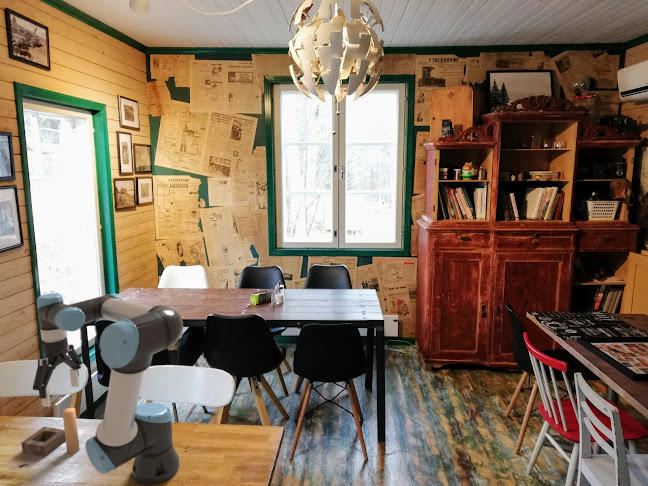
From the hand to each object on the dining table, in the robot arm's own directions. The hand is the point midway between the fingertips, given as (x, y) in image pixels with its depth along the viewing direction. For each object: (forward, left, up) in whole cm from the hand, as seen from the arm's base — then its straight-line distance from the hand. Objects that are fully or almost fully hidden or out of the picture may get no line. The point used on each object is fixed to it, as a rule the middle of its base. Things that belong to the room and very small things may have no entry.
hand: (61, 395), depth 160 cm
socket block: (+11, -2, -23) cm, 25 cm away
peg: (-1, -2, -23) cm, 23 cm away
